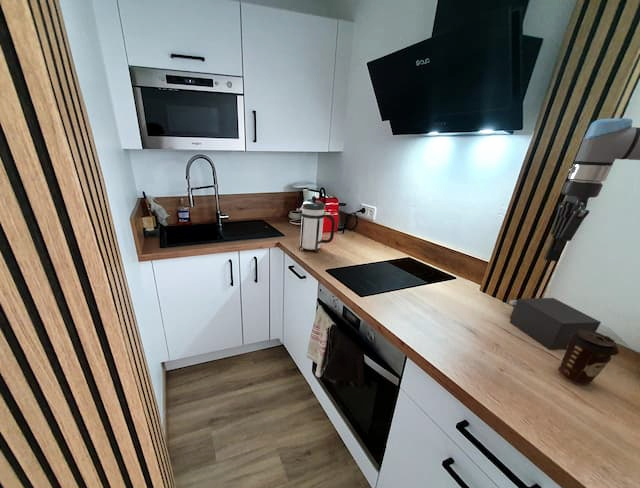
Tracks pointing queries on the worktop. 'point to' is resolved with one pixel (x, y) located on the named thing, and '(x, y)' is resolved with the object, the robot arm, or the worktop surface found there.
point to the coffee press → (314, 225)
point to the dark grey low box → (550, 321)
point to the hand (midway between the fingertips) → (550, 259)
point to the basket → (514, 302)
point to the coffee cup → (586, 356)
